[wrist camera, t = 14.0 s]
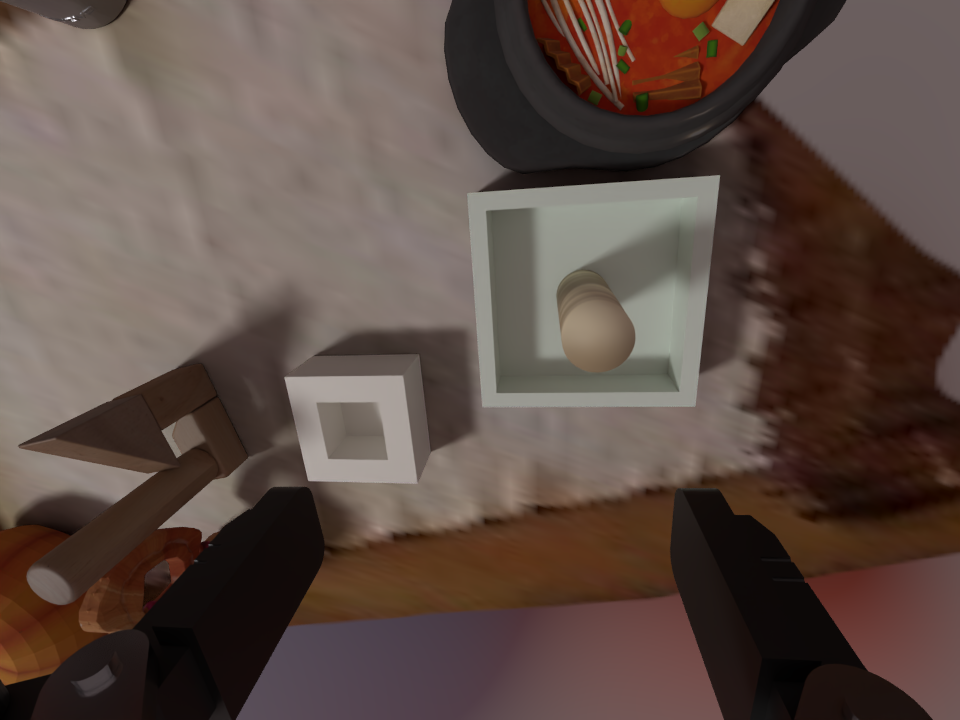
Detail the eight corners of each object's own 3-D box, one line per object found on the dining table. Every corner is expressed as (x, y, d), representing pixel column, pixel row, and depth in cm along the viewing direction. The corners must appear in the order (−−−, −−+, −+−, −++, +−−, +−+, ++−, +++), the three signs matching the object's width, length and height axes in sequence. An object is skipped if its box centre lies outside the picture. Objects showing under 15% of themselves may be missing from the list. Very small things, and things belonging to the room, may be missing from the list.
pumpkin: (139, 647, 60) (18, 785, 46) (4, 597, 60) (-158, 719, 46) (147, 543, 53) (7, 668, 39) (-6, 485, 53) (-202, 591, 39)
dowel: (556, 270, 35) (561, 305, 25) (609, 268, 34) (637, 302, 24) (556, 320, 36) (561, 373, 26) (607, 319, 36) (633, 371, 26)
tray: (476, 192, 35) (467, 193, 31) (697, 177, 32) (720, 175, 28) (488, 384, 40) (482, 407, 36) (678, 382, 38) (695, 406, 34)
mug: (285, 584, 52) (191, 727, 38) (223, 586, 54) (111, 724, 40) (241, 476, 48) (116, 596, 34) (175, 482, 49) (29, 598, 35)
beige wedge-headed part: (203, 361, 43) (-11, 469, 27) (250, 457, 47) (87, 606, 30) (172, 369, 44) (-55, 479, 27) (220, 462, 47) (45, 611, 31)
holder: (313, 356, 41) (284, 376, 37) (419, 354, 40) (403, 375, 35) (332, 450, 45) (308, 481, 40) (430, 452, 43) (417, 483, 39)
